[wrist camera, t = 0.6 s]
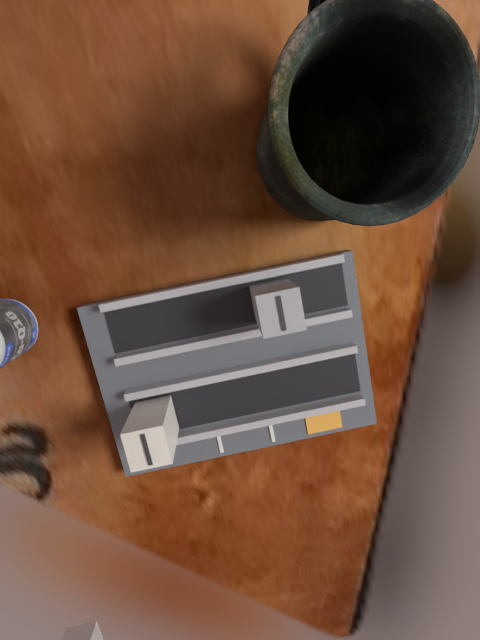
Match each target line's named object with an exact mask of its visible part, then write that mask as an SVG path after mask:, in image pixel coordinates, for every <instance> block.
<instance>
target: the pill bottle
mask: <svg viewBox="0 0 480 640" xmlns="http://www.w3.org/2000/svg"><path fill="white" fill-rule="evenodd" d="M37 336H38V323H37V319H36V317H35V315H34V313H33V312H32V311H31V310H30V309H29V308H28V307H27V306H26V305H25V304H23V303H21V302H19V301H17V300H13V299H0V368H1V367H3V366H4V365H6V364H8V363H9V362H11V361H12V360H14V359H15V358H17V357H18V356H20V355H22V354H23V353H25V352H26V351H28V350H29V349H30V348H31V347H32V346H33V345H34V343H35V342H36V340H37Z"/></svg>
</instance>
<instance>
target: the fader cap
mask: <svg viewBox="0 0 480 640" xmlns="http://www.w3.org/2000/svg"><path fill="white" fill-rule="evenodd" d="M178 432H179V425H178V421H177V417H176V413H175V409H174V405H173V401H172V398H171V395H169V396H164V397H160V398H155V399H150V400H145V401H140V402H136V403H134V406H133V408H132V410H131V412H130V414H129V416H128V418H127V421H126V423H125V425H124V427H123V429H122V431H121V433H120V436H121V440H122V443H123V447H124V450H125V454H126V457H127V461H128V464H129V468H130V471H131V473H132V472H137V471H142V470H146V469H151V468H156V467H160V466H165V465H170V464H173V460H174V454H175V449H176V443H177V438H178Z"/></svg>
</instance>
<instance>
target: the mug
mask: <svg viewBox="0 0 480 640" xmlns="http://www.w3.org/2000/svg"><path fill="white" fill-rule="evenodd" d="M479 117H480V80H479V73H478V69H477V65H476V61H475V58H474V55H473V52H472V50H471V48H470V45H469V43H468V41H467V39H466V37H465V36H464V34H463V32H462V31H461V29H460V27H459V26H458V24H457V23H456V22H455V21H454V20H453V19H452V17H451V16H450V15H449V14H448V13H447V12H446V11H445V10H444V9H443V8H442V7H440V6H439V5H438V4H437V3H435V2H434V1H433V0H309V6H308V15H307V16H306V17H305V18H304V19H303V20H302V21H301V22H300V23H299V25H298V26H297V27H296V29H295V30H294V31H293V33H292V34H291V35H290V37H289V38H288V40H287V42H286V44H285V46H284V48H283V50H282V51H281V53H280V55H279V58H278V61H277V64H276V66H275V69H274V72H273V76H272V81H271V86H270V90H269V102H268V107H267V109H266V111H265V114H264V116H263V119H262V121H261V124H260V127H259V131H258V136H257V146H256V153H257V163H258V168H259V172H260V175H261V177H262V180H263V183H264V184H265V186H266V188H267V190H268V192H269V193H270V194H271V196H272V197H273V198H274V199H275V201H276V202H278V203H279V204H280V205H281V206H282V207H283V208H284V209H286V210H287V211H289V212H290V213H292V214H294V215H296V216H299V217H301V218H305V219H309V220H317V221H325V220H338V221H341V222H345V223H349V224H353V225H362V226H376V225H386V224H390V223H394V222H398V221H401V220H403V219H406V218H408V217H410V216H412V215H415V214H417V213H418V212H420V211H421V210H423V209H424V208H426V207H427V206H429V205H430V204H431V203H433V202H434V201H435V200H436V199H437V198H438V197H439V196H441V195H442V194H443V193H444V192H445V191H446V189H447V188H448V187H449V186H450V185H451V184H452V182H453V181H454V180H455V179H456V177H457V176H458V174H459V172H460V171H461V169H462V168H463V166H464V165H465V162H466V160H467V158H468V156H469V153H470V151H471V149H472V147H473V143H474V140H475V137H476V134H477V130H478V124H479Z"/></svg>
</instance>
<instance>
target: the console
mask: <svg viewBox="0 0 480 640" xmlns="http://www.w3.org/2000/svg"><path fill="white" fill-rule="evenodd" d="M77 311H78V314H79V318H80V321H81V325H82V328H83V331H84V335H85V338H86V342H87V345H88V349H89V352H90V356H91V359H92V362H93V366H94V369H95V373H96V376H97V380H98V383H99V386H100V390H101V393H102V397H103V400H104V404H105V407H106V410H107V414H108V417H109V421H110V424H111V428H112V431H113V435H114V438H115V441H116V445H117V448H118V452H119V455H120V459H121V462H122V465H123V469H124V472H125V476H126V477H127V476H132V475H137V474H141V473H146V472H151V471H156V470H160V469H165V468H170V467H174V466H179V465H184V464H189V463H193V462H198V461H203V460H207V459H212V458H217V457H222V456H226V455H231V454H236V453H241V452H245V451H250V450H255V449H259V448H264V447H269V446H274V445H278V444H283V443H288V442H292V441H297V440H302V439H307V438H311V437H316V436H321V435H325V434H330V433H335V432H340V431H344V430H349V429H354V428H358V427H363V426H368V425H373V424H377V421H376V414H375V407H374V400H373V393H372V386H371V379H370V372H369V365H368V357H367V350H366V343H365V336H364V329H363V322H362V315H361V308H360V301H359V294H358V287H357V279H356V272H355V265H354V258H353V251H351V250H346V251H341V252H336V253H331V254H326V255H322V256H317V257H312V258H307V259H302V260H297V261H293V262H288V263H283V264H278V265H273V266H268V267H264V268H259V269H254V270H249V271H244V272H239V273H235V274H230V275H225V276H220V277H215V278H211V279H206V280H201V281H196V282H191V283H186V284H182V285H177V286H172V287H167V288H162V289H157V290H153V291H148V292H143V293H138V294H133V295H128V296H124V297H119V298H114V299H109V300H104V301H100V302H95V303H90V304H85V305H81V306H79V307H78V308H77ZM169 395H171V398H172V401H173V405H174V409H175V413H176V417H177V421H178V425H179V432H178V438H177V443H176V449H175V454H174V460H173V464H170V465H165V466H160V467H156V468H151V469H146V470H142V471H137V472H132V473H131V471H130V468H129V464H128V461H127V457H126V454H125V450H124V447H123V443H122V440H121V436H120V433H121V431H122V429H123V427H124V425H125V423H126V421H127V418H128V416H129V414H130V412H131V410H132V408H133V406H134V403H136V402H140V401H145V400H150V399H155V398H160V397H164V396H169Z"/></svg>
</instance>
